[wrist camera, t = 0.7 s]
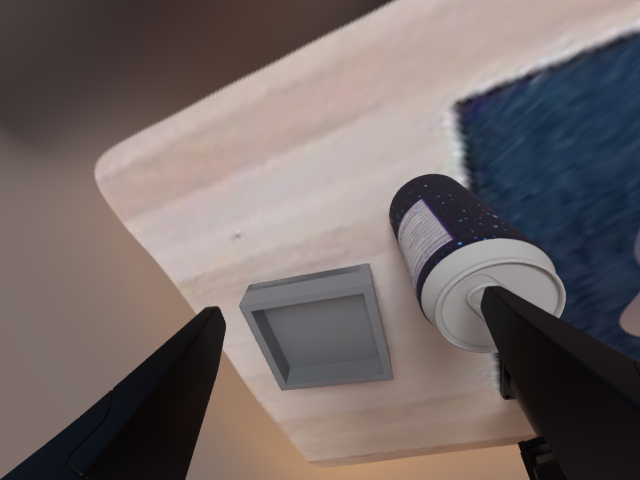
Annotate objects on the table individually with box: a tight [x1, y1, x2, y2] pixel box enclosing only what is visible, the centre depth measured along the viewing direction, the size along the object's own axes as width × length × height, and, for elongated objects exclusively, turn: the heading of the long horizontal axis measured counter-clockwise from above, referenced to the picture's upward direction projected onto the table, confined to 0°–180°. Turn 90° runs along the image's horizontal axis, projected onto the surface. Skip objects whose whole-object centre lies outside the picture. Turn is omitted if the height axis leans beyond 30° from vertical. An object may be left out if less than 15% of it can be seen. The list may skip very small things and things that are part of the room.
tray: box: [239, 263, 394, 391], centre depth 27 cm, size 12×12×3 cm
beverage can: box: [389, 174, 566, 353], centre depth 17 cm, size 6×6×12 cm
